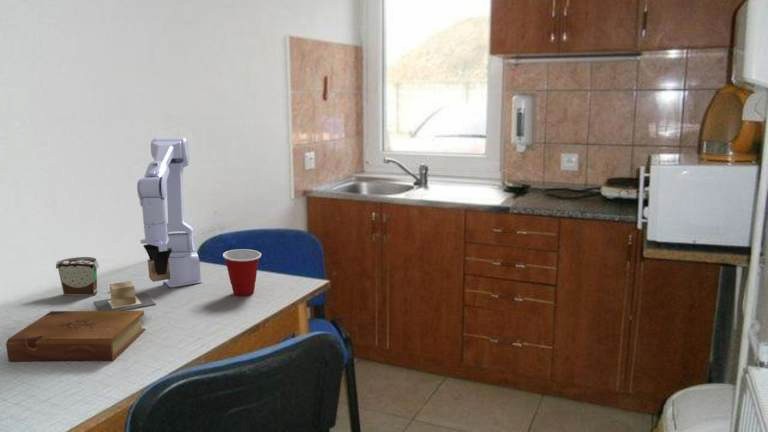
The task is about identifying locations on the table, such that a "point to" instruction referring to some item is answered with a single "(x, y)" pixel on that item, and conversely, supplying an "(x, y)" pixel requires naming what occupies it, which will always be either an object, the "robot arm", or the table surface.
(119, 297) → the oak block
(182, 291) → the table surface
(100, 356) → the diary
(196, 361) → the table surface
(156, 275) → the walnut block
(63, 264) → the food container
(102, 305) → the gray rectangular panel
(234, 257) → the plastic cup
